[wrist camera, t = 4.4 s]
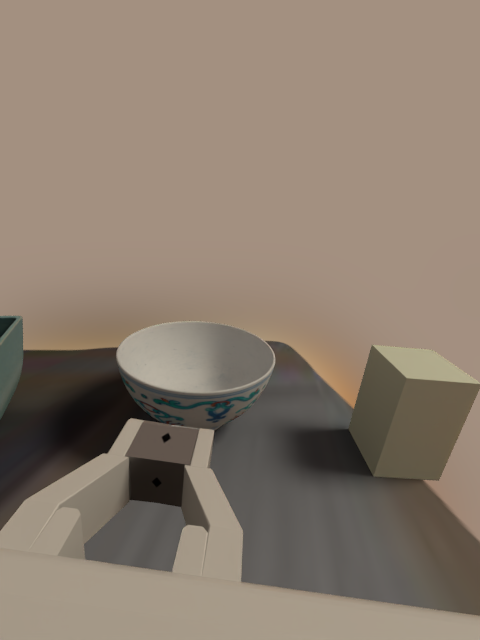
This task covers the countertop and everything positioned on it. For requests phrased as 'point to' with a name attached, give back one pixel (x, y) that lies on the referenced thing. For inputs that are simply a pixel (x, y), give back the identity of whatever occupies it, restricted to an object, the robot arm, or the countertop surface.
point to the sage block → (410, 412)
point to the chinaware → (195, 372)
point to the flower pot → (10, 357)
